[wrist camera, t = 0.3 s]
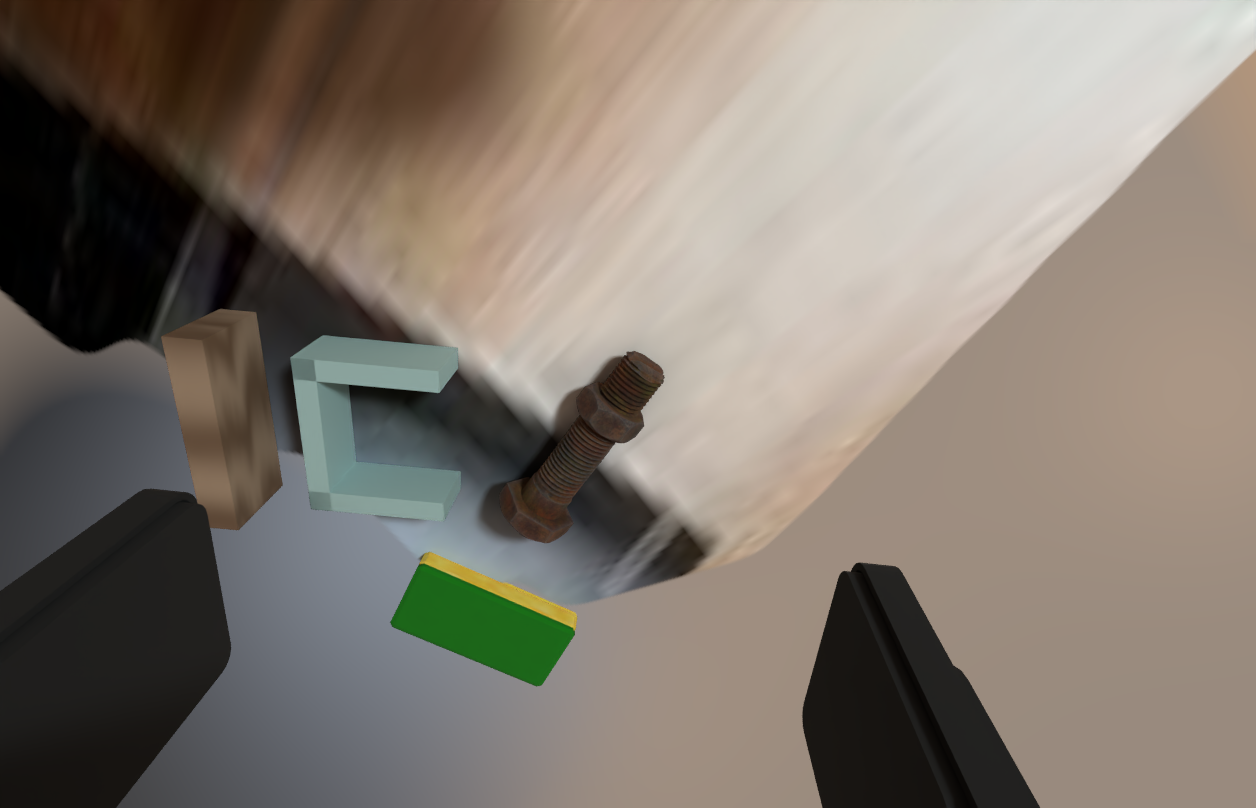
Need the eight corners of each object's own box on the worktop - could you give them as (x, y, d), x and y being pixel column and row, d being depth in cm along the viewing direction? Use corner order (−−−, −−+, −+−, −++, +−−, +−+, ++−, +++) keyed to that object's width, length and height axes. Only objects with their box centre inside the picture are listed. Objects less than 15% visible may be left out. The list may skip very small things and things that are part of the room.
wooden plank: (220, 309, 46) (161, 336, 40) (256, 312, 46) (201, 340, 40) (250, 482, 52) (202, 526, 46) (282, 485, 52) (238, 530, 46)
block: (322, 335, 46) (290, 357, 42) (457, 347, 46) (438, 371, 42) (338, 476, 51) (310, 509, 47) (461, 488, 51) (444, 521, 47)
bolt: (656, 351, 48) (545, 496, 53) (605, 326, 45) (491, 483, 50) (693, 399, 44) (568, 551, 49) (639, 375, 41) (512, 541, 45)
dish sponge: (428, 546, 54) (418, 565, 52) (579, 612, 56) (576, 633, 54) (398, 606, 57) (388, 626, 55) (543, 667, 59) (539, 689, 57)
